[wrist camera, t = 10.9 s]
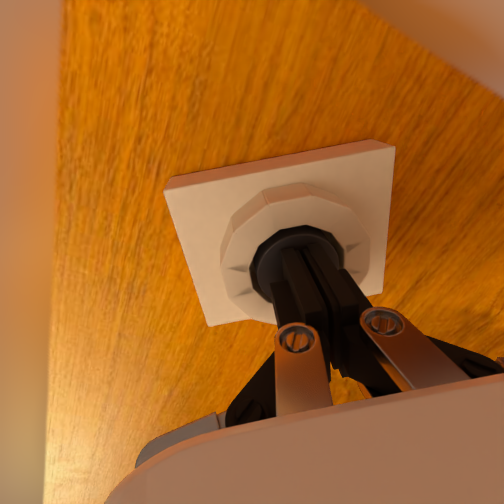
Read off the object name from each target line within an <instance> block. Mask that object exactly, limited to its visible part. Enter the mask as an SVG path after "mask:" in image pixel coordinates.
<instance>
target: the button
mask: <svg viewBox="0 0 504 504" xmlns="http://www.w3.org/2000/svg"><path fill="white" fill-rule="evenodd" d="M315 243H320V244H321V246H322V247H323V249H324V250H325V252H326V253H327V255H328V256H329V258H330V259H331V261H332V262H333V264H334V265H335V267H336V268H337V270H339V258H338V254H337V252H336V250H335V248H334V247H333V245H332V244H331V243H330V241H329V240H328V239H327V237H326V236H325V235H324V233H323V232H322V230H321V229H319V228H315V227H312V226H309V225H301V226H296V227H291V228H286V229H280V230H278V231H277V232H276V233H275V234H273V235H272V236H271V237H269V238H268V239H267V240H265V241H264V242H263V243H261V244H260V245H259V246H258V248H257V251H256V253H255V255H254V257H253V261H254V266H255V271H256V276H257V280H258V284H259V286H260V288H261V289H262V291H263V292H264V293H265V294H266V295H267V296H268V297H270V298H271V292H270V286H269V283H271V282H276V281H282V280H284V277H283V269H282V261H281V254H280V250H283V249H289V248H294V250H295V251H296V250H299V252H300V254H301V256H302V249H306V245H310V244H315ZM271 299H272V298H271Z"/></svg>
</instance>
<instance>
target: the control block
mask: <svg viewBox="0 0 504 504" xmlns="http://www.w3.org/2000/svg"><path fill="white" fill-rule="evenodd" d="M395 149H396V148H395V146H393V145H389V144H386V143H383V142H380V141H377V140H373V139H368V140H363V141H357V142H352V143H347V144H342V145H337V146H331V147H326V148H321V149H316V150H310V151H305V152H300V153H295V154H290V155H284V156H279V157H274V158H269V159H263V160H258V161H253V162H248V163H243V164H237V165H232V166H227V167H222V168H216V169H211V170H206V171H201V172H196V173H190V174H185V175H180V176H175V177H171V178H170V180H169V182H168V183H167V185H166V187H165V189H164V190H163V193H164V196H165V199H166V202H167V205H168V208H169V211H170V214H171V217H172V220H173V223H174V226H175V229H176V232H177V235H178V238H179V241H180V244H181V247H182V250H183V253H184V256H185V259H186V262H187V265H188V268H189V271H190V274H191V277H192V280H193V283H194V286H195V289H196V292H197V294H198V297H199V300H200V303H201V306H202V309H203V312H204V315H205V318H206V321H207V324H208V326H209V327H210V326H215V325H220V324H225V323H230V322H236V321H241V320H246V319H251V318H252V319H253V320H257V321H261V322H266V323H271V324H275V325H277V322H276V318H275V313H274V309H273V303H272V299H271V298H270V297H268V296H267V295H266V294H265V293H264V292H263V291H262V289H261V288H260V286H259V284H258V280H257V276H256V271H255V266H254V261H253V257H254V255H255V253H256V251H257V248H258V246H259V245H260V244H261V243H263V242H264V241H265V240H267V239H268V238H269V237H271V236H272V235H273V234H275V233H276V232H277V231H278V230H280V229H286V228H291V227H296V226H301V225H309V226H312V227H315V228H319V229H321V230H322V232H323V233H324V235H325V236H326V237H327V239H328V240H329V241H330V243H331V244H332V245H333V247H334V248H335V250H336V252H337V254H338V258H339V269H346V270H347V271H348V272H349V274H350V275H351V277H352V278H353V279H354V281H355V282H356V284H357V285H358V286H359V288H360V289H361V291H362V292H363V293H364V295H365V296H369V295H375V294H380V293H382V290H383V279H384V268H385V257H386V246H387V235H388V225H389V214H390V203H391V192H392V181H393V170H394V159H395Z"/></svg>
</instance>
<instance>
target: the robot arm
mask: <svg viewBox="0 0 504 504" xmlns="http://www.w3.org/2000/svg"><path fill="white" fill-rule="evenodd" d="M280 254H281V261H282V269H283V277H284V280H282V281H276V282H271V283H269V286H270V292H271V298H272V303H273V309H274V313H275V318H276V322H277V326H278V331H277V333H276V335H275V340H274V342H275V351H274V352H273V353H272V354H271V356H270V357H269V358H268V359H267V360H266V362H265V363H264V364H263V365H262V366H261V368H260V369H259V370H258V371H257V372H256V374H255V375H254V376H253V377H252V378H251V380H250V381H249V382H248V383H247V384H246V386H245V387H244V388H243V389H242V390H241V392H240V393H239V394H238V395H237V396H236V398H235V399H234V400H233V401H232V402H231V404H230V406H229V407H228V409H227V410H226V411H224V412H222V413H220V414H216V412H213V413H211V414H209V415H207V416H204V417H202V418H200V419H197V420H195V421H193V422H191V423H188V424H186V425H184V426H182V427H179V428H177V429H175V430H172V431H170V432H168V433H166V434H163V435H161V436H159V437H156V438H155V439H153V440H152V441H150V442H149V443H148V444H147V445H146V446H145V447H144V448H143V449H142V450H141V452H140V454H139V456H138V458H137V460H136V466H135V470H133V471H132V472H131V473H130V474H129V475H127V476H126V477H125V478H124V479H123V480H122V481H121V482H120V483H119V484H118V485H117V486H116V487H115V488H114V490H113V491H112V492H111V493H110V495H109V497H108V498H107V500H106V501H105V503H104V504H504V357H497V359H496V361H493V360H492V359H490V358H488V357H486V356H483V355H481V354H478V353H476V352H473V351H470V350H467V349H464V348H461V347H458V346H455V345H452V344H449V343H447V342H444V341H441V340H438V339H435V338H432V337H429V336H426V335H424V334H423V333H422V332H421V331H419V330H418V329H417V328H416V327H415V326H414V325H413V324H412V323H411V322H410V321H409V320H408V319H407V318H405V317H404V316H403V315H402V314H401V313H399V312H398V311H396V310H393V309H391V308H387V307H373V306H372V305H371V303H370V302H369V300H368V299H367V298H366V296H365V295H364V293H363V292H362V291H361V289H360V288H359V286H358V285H357V284H356V282H355V281H354V279H353V278H352V277H351V275H350V274H349V272H348V271H347V270H346V269H339V270H337V268H336V267H335V265H334V264H333V262H332V261H331V259H330V258H329V256H328V255H327V253H326V252H325V250H324V249H323V247H322V246H321V244H320V243H315V244H310V245H306V249H302V256H301V254H300V252H299V250H296V251H295V250H294V248H289V249H283V250H280ZM330 362H331V364H332V367H333V369H334V370H335V369H339V371H340V374H341V376H342V378H343V377H350V378H352V379H354V380H356V381H357V384H358V387H359V389H360V391H361V392H362V394H363V395H364V397H365V400H360V401H355V402H349V403H344V404H339V405H334V406H333V402H332V397H331V392H330V387H329V383H330V381H331V370H330Z"/></svg>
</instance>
